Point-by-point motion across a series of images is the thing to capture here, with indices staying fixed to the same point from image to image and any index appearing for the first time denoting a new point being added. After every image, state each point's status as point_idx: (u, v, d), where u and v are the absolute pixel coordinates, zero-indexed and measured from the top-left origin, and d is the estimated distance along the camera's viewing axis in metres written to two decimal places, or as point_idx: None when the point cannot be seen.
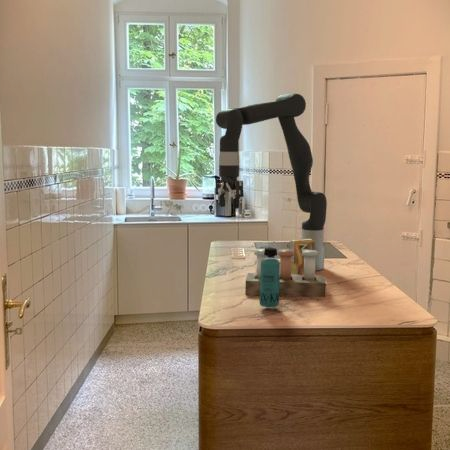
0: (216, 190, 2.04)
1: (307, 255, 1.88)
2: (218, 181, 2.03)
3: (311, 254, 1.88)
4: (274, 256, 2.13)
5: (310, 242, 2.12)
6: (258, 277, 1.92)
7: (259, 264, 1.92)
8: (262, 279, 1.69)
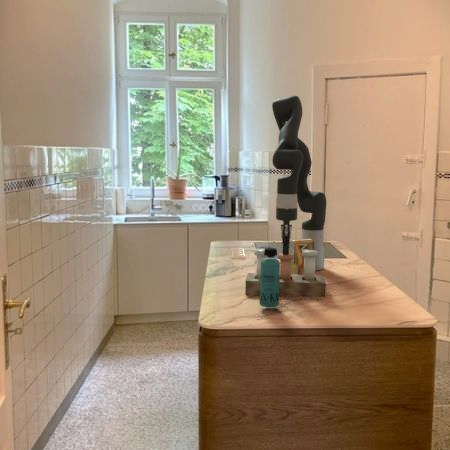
0: None
1: (307, 255, 1.88)
2: None
3: (311, 254, 1.88)
4: (274, 256, 2.13)
5: (310, 242, 2.12)
6: (258, 277, 1.92)
7: (259, 264, 1.92)
8: (262, 279, 1.69)
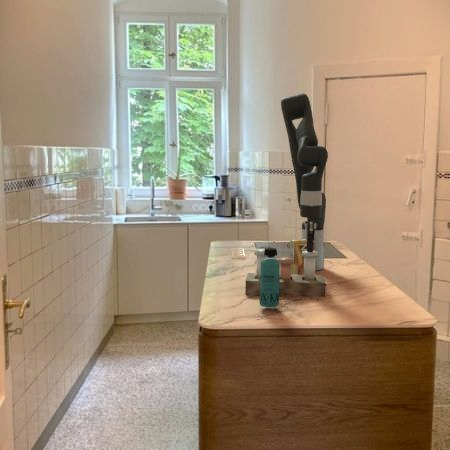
0: (313, 237, 1.87)
1: (307, 255, 1.88)
2: None
3: (311, 254, 1.88)
4: (274, 256, 2.13)
5: None
6: (258, 277, 1.92)
7: (259, 264, 1.92)
8: (262, 279, 1.69)
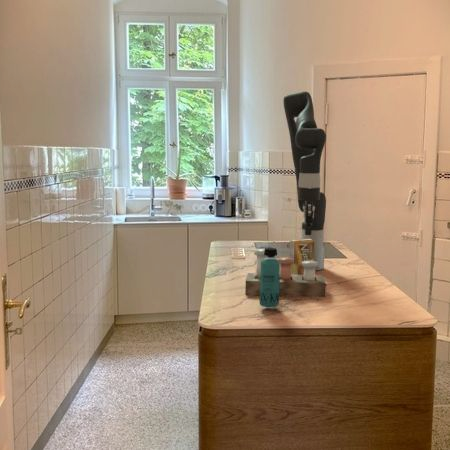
0: None
1: (307, 266, 1.89)
2: None
3: (311, 265, 1.89)
4: (274, 256, 2.13)
5: (310, 242, 2.12)
6: (258, 277, 1.92)
7: (259, 264, 1.92)
8: (262, 279, 1.69)
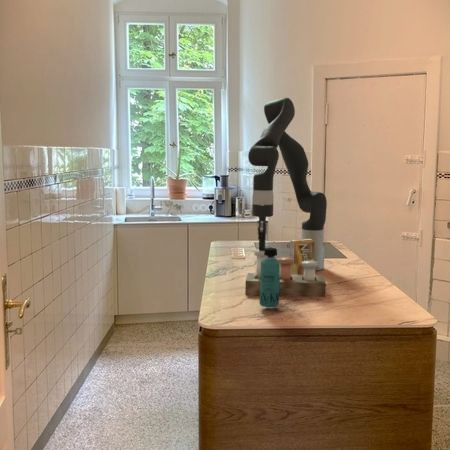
0: (265, 236, 1.88)
1: (307, 266, 1.89)
2: None
3: (311, 265, 1.89)
4: (274, 256, 2.13)
5: (310, 242, 2.12)
6: (258, 277, 1.93)
7: (259, 264, 1.92)
8: (262, 279, 1.69)
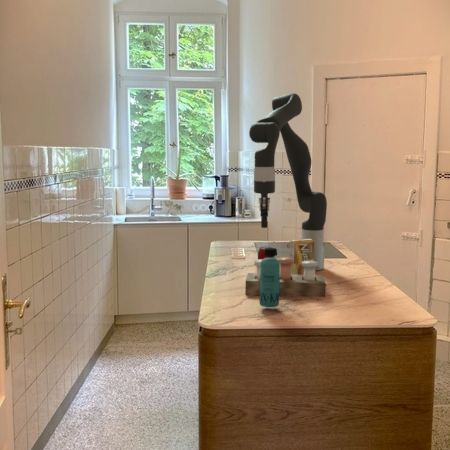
0: None
1: (307, 266, 1.89)
2: None
3: (311, 265, 1.89)
4: (274, 256, 2.13)
5: (310, 242, 2.12)
6: None
7: (259, 275, 1.92)
8: (262, 279, 1.69)
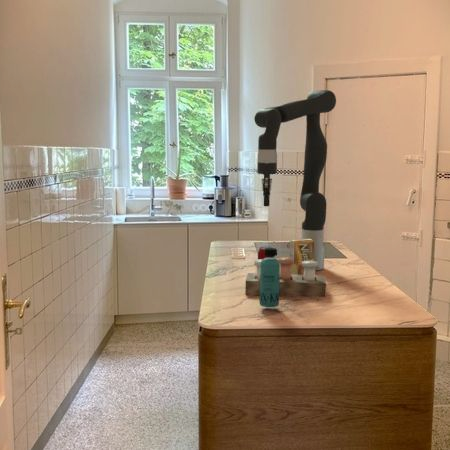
0: None
1: (307, 266, 1.89)
2: None
3: (311, 265, 1.89)
4: (274, 256, 2.13)
5: (310, 242, 2.12)
6: None
7: (259, 275, 1.92)
8: (262, 279, 1.69)
